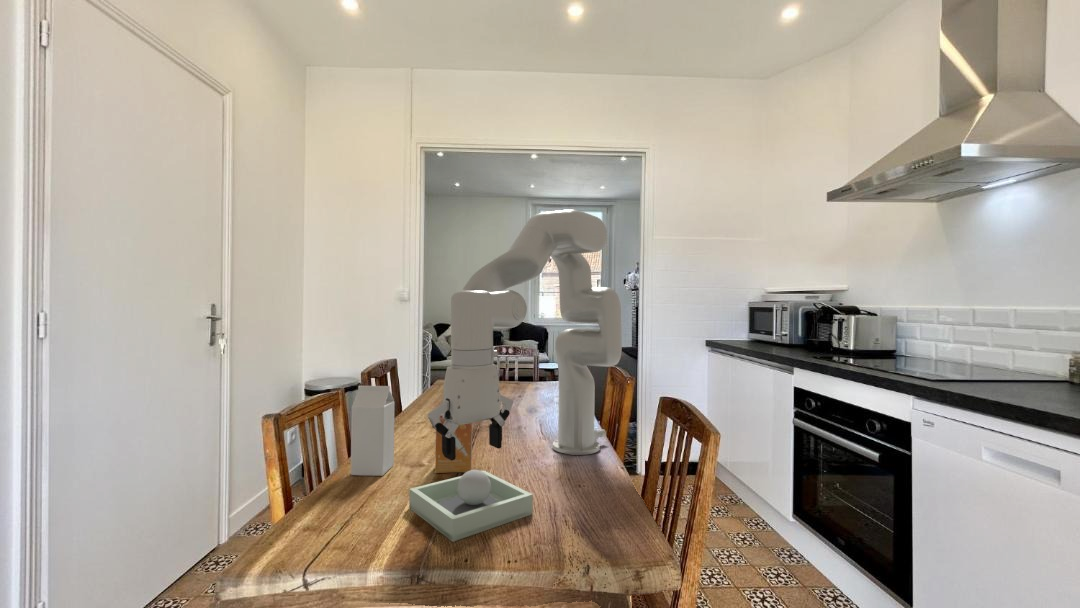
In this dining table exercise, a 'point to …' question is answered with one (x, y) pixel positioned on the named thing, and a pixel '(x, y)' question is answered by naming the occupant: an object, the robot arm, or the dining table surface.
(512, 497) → the tray
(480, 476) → the ball
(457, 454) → the small box
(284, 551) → the dining table surface
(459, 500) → the felt pad
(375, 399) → the milk carton
